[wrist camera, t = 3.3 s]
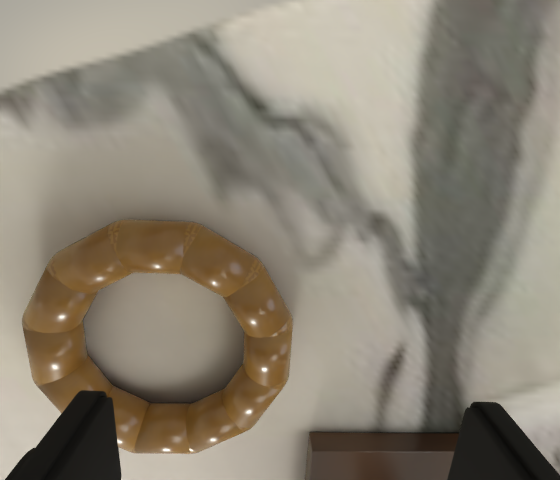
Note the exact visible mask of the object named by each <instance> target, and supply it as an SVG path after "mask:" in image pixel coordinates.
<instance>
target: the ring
mask: <svg viewBox="0 0 560 480" xmlns="http://www.w3.org/2000/svg"><path fill="white" fill-rule="evenodd" d="M133 272H135V273H167V274H182V275H184V276H186V277H188V278H189V279H191V280H193V281H195V282H197V283H199V284H200V285H202V286H204V287H206V288H208V289H209V290H211V291H213V292H215V293H217V294H219V295H220V296H222V297H223V298H224V299H225V301H226V303H227V304H228V306H229V307H230V309H231V311H232V312H233V314H234V315H235V317H236V319H237V320H238V322H239V323H240V325H241V326H242V328H243V330H244V361H243V364H242V365H241V367H240V368H239V370H238V371H237V372H236V374H235V375H234V377H233V378H232V379H231V381H230V382H229V384H228V385H227V386H226V388H225V389H222V390H220V391H218V392H216V393H214V394H212V395H209V396H207V397H205V398H203V399H201V400H199V401H196V402H194V403H192V404H191V403H150V402H148V401H145V400H143V399H141V398H139V397H137V396H135V395H132V394H130V393H128V392H126V391H124V390H122V389H119V388H117V387H115V386H113V385H112V384H111V383H110V382H109V381H108V379H107V378H106V377H105V376H104V374H103V373H102V372H101V371H100V369H99V368H98V367H97V366H96V365H95V363H94V362H93V361H92V360H91V358H90V357H89V356H88V355H87V348H86V341H85V333H84V326H83V318H84V316H85V314H86V313H87V311H88V309H89V307H90V305H91V303H92V302H93V300H94V298H95V296H96V294H97V292H98V291H99V290H100V289H102V288H104V287H106V286H108V285H110V284H112V283H114V282H116V281H118V280H120V279H122V278H124V277H126V276H128V275H129V274H131V273H133ZM22 326H23V331H24V337H25V342H26V347H27V352H28V357H29V363H30V368H31V373H32V378H33V380H34V382H35V384H36V385H37V386H38V388H39V389H40V390H41V391H42V392H43V393H44V394H45V395H46V396H47V398H48V399H49V400H50V401H51V402H52V403H53V404H54V405H55V406H56V408H57V409H58V410H59V411H60V412H61V413H63V411H64V410H65V409H66V407H67V406H68V405H69V403H70V402H71V401H72V399H73V398H74V397H75V396H76V394H77V393H78V392H79V391H82V390H86V391H105V392H106V395H107V397H111V398H112V400H113V406H114V415H115V424H116V433H117V441H118V447H120V448H122V449H124V450H127V451H129V452H132V453H181V454H192V453H198V452H200V451H203V450H205V449H207V448H209V447H212V446H214V445H216V444H218V443H221V442H223V441H225V440H227V439H230V438H232V437H234V436H236V435H239V434H241V433H243V432H245V431H247V430H249V429H251V428H252V427H253V426H254V425H255V424H256V422H257V421H258V420H259V418H260V417H261V416H262V414H263V413H264V412H265V411H266V409H267V408H268V407H269V405H270V404H271V403H272V401H273V400H274V399H275V397H276V396H277V395H278V394H279V392H280V391H281V390H282V388H283V387H284V386H285V384H286V382H287V380H288V377H289V369H290V355H291V340H292V326H293V325H292V316H291V313H290V311H289V310H288V308H287V306H286V304H285V302H284V301H283V299H282V297H281V295H280V294H279V292H278V290H277V288H276V287H275V285H274V283H273V281H272V280H271V278H270V276H269V274H268V273H267V271H266V269H265V267H264V266H263V264H262V262H261V261H260V260H259V259H258V258H257V257H255V256H254V255H252V254H250V253H249V252H247V251H245V250H243V249H242V248H240V247H238V246H237V245H235V244H233V243H231V242H230V241H228V240H226V239H225V238H223V237H221V236H220V235H218V234H216V233H214V232H213V231H211V230H209V229H208V228H206V227H204V226H202V225H201V224H198V223H194V222H180V221H154V220H129V219H128V220H119V221H116V222H114V223H111V224H109V225H108V226H106V227H104V228H102V229H100V230H98V231H96V232H95V233H93V234H91V235H89V236H87V237H85V238H83V239H82V240H80V241H78V242H76V243H74V244H72V245H70V246H68V247H67V248H65V249H63V250H61V251H59V252H58V253H56V254H55V255H54V256H53V257H52V258H51V259H50V261H49V262H48V264H47V266H46V268H45V270H44V273H43V275H42V277H41V279H40V281H39V283H38V285H37V287H36V289H35V291H34V293H33V295H32V297H31V299H30V301H29V303H28V305H27V307H26V309H25V311H24V314H23V318H22Z"/></svg>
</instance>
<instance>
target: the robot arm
mask: <svg viewBox="0 0 560 480" xmlns="http://www.w3.org/2000/svg"><path fill="white" fill-rule="evenodd" d="M5 480H121V468H120V459H119V450H118V441H117V433H116V424H115V415H114V406H113V400H112V398H111V397H107V395H106V392H105V391H86V390H82V391H79V392H78V393H77V394H76V396H75V397H74V398H73V399H72V401H71V402H70V403H69V405H68V406H67V407H66V409H65V410H64V411H63V413H62V414H61V415H60V416H59V418H58V419H57V420H56V422H55V423H54V424H53V426H52V427H51V428H50V430H49V431H48V432H47V434H46V435H45V436H44V437H43V439H42V440H41V441H40V443H39V444H38V445H37V447H36V448H33V449H31V450H30V451H28V452H27V453H26V454H25V455H24V456H23V457H22V459H21V460H20V461H19V462H18V464H17V465H16V466H15V468H14V469H13V470H12V471H11V473H10V474H9V475H8V477H7V478H6V479H5ZM447 480H560V475H559V474H558V473H557V471H556V470H555V469H554V468H553V467H552V466H551V464H550V463H549V462H548V461H547V460H546V458H545V457H544V456H543V455H542V454H541V452H540V451H539V450H538V449H537V448H536V446H535V445H534V444H533V443H532V442H531V441H530V439H529V438H528V437H527V436H526V435H525V433H524V432H523V431H522V430H521V429H520V427H519V426H518V425H517V424H516V423H515V421H514V420H513V419H512V418H511V417H510V416H509V414H508V413H507V412H506V411H505V410H504V408H503V407H502V406H501V405H500V404H498V403H496V402H473V403H472V404H471V406H470V408H466V410H465V413H464V416H463V420H462V424H461V428H460V432H459V436H458V440H457V444H456V447H455V451H454V455H453V459H452V463H451V467H450V471H449V475H448V479H447Z"/></svg>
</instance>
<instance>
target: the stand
mask: <svg viewBox="0 0 560 480" xmlns="http://www.w3.org/2000/svg"><path fill="white" fill-rule="evenodd" d="M458 436H459V433H333V432H310V433H309V442H308V453H307V463H306V474H305V480H447V479H448V475H449V471H450V467H451V463H452V459H453V455H454V451H455V447H456V444H457V440H458Z"/></svg>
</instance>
